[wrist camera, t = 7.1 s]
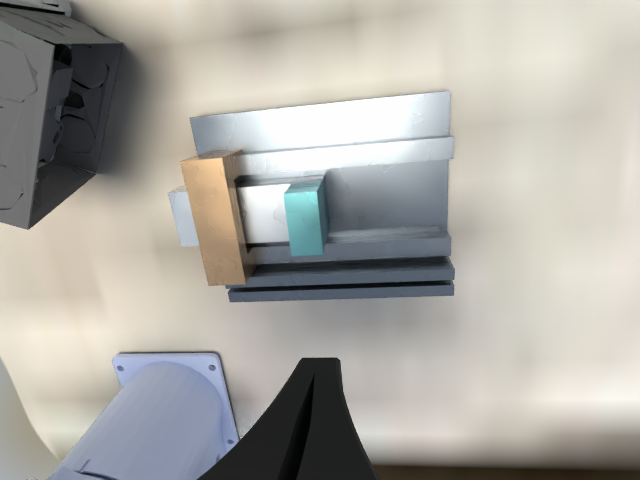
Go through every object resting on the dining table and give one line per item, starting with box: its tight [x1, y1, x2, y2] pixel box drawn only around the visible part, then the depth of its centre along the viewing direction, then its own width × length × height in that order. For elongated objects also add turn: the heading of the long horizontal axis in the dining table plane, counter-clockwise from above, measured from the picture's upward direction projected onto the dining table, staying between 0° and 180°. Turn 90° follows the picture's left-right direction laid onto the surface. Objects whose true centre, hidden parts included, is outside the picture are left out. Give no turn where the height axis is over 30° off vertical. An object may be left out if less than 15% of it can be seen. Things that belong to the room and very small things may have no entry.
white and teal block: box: [168, 175, 330, 256], centre depth 19 cm, size 3×8×4 cm, turn 95°
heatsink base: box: [180, 91, 455, 302], centre depth 19 cm, size 10×13×4 cm
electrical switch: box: [0, 0, 122, 230], centre depth 17 cm, size 9×5×9 cm, turn 155°
